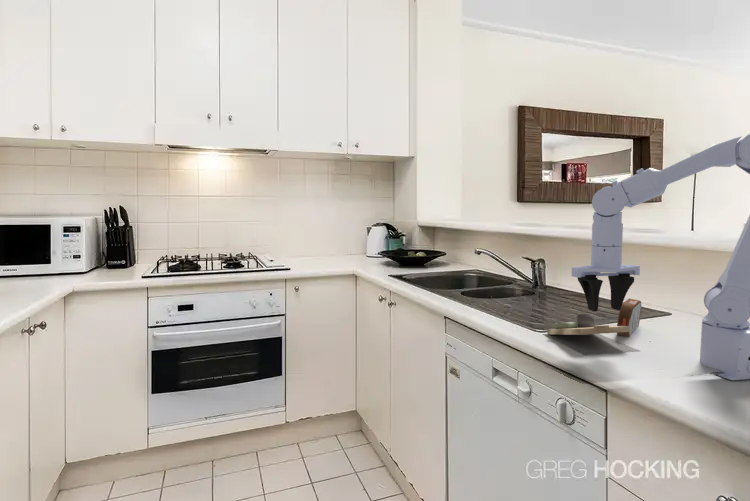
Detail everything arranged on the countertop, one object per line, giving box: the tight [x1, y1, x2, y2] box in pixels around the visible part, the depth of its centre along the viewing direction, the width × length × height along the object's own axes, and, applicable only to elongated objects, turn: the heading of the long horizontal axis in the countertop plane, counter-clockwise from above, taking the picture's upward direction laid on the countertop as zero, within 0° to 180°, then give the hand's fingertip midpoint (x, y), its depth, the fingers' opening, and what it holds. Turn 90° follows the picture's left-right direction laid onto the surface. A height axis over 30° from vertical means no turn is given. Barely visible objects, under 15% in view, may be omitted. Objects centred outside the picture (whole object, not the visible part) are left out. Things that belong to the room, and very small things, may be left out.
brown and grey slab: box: [616, 298, 642, 338], centre depth 113 cm, size 15×3×8 cm, turn 141°
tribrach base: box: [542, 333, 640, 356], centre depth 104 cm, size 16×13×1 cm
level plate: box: [546, 313, 630, 335], centre depth 105 cm, size 14×11×4 cm
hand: (604, 309), depth 98 cm, fingers open, 5 cm apart
